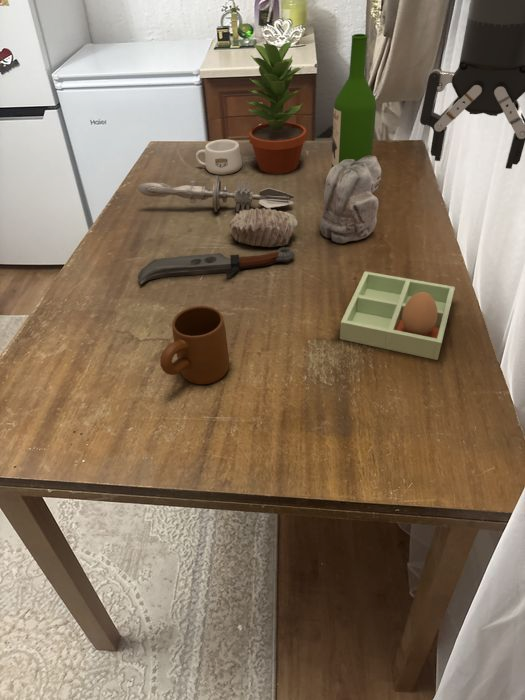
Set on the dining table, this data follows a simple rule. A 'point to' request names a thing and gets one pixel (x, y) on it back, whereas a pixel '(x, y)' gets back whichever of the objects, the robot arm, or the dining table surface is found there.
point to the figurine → (351, 200)
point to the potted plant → (276, 113)
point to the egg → (420, 314)
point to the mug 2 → (221, 157)
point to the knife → (209, 264)
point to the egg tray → (393, 314)
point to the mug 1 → (197, 346)
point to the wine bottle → (354, 110)
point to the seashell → (263, 227)
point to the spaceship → (219, 194)
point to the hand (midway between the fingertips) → (472, 162)
